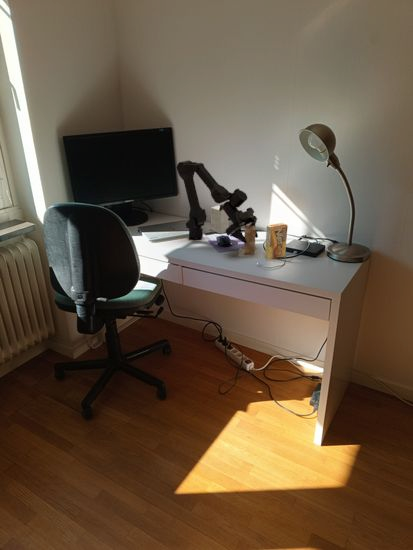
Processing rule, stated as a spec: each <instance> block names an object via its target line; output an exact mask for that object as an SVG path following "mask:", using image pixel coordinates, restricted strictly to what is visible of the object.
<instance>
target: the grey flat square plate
mask: <svg viewBox="0 0 413 550" xmlns="http://www.w3.org/2000/svg"><path fill="white" fill-rule="evenodd" d="M260 250H261V249H259V248H255V255H244V248H238V256H237V257H239V258H245V257H246V258H261V251H260Z"/></svg>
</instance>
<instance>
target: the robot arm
mask: <svg viewBox="0 0 413 550" xmlns="http://www.w3.org/2000/svg"><path fill="white" fill-rule="evenodd" d="M176 171H177V173H178V176H179V177H180V178H181V180H182V181H183V183H184V188H185V192H186V196H187V200H188V201H187V202H188V205H189V214H188V218H189V219H188V221H187V222H185V227H186V229H188V241H190V240H192V241H193V240H194V241H195V240H196V241H197V240H198V241H202V238H203V236H204V232H203V231H204V229H203V226H205V223H206V221H207V217H208V215H207V212H206V209H205V208H202V207H201V206H200V202H199V197H198V193H197V192H198V191H197V187H196V184H195V181H194V177H195V174H196V175H197V176H198V177H199V179H200V180H201V181H202V182H203V184H204V185H205V186H206V187H207V188H208V190H209V191H210V197H211V198H212V199H213V200H212V201H214V203H216V204H219V205H220V208H219V211H222V210H224V211H225V213H226V214H227V216H228V217H229V218H228V220H229V222H230V221H231V224H229V227H228V228H227V229H226V232H225V233H226V235H227V236H230V237H233V238H235V239H236V240H239V241H241V242H242V243H243V244H244V243H247V241H246V239H245V237H244V234H243V232H242V228H243V227H245V226H256V223H257V220H258V217H257V216H256V215H254V214H255V211H254V209H253V208H252V206H251V207H248V208H246V211H243V210H241V209H240V210H239V209H238V208H240V207H241V206H242V205H243V204H244V203H245V202H246V201H247V200H248V195H247V193H246V192H244V191H242V190H240V188H235V190H233V192H229V190H228V189H227V188H225V187H224V186H222V185H220V184H219V183H218V182H217V180H216V179H215V178H214V176H212V174H211V173H210V172H209V170H208V169H207V167H205V165H204V163H203V162H197V161H195V162H194V161H191V160H190V159H188V160H183V161H180V162H179V161H178V163H177V165H176ZM257 231H258V230H256V234H255V239H257V238H259V235H258V232H257Z"/></svg>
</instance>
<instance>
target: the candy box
mask: <svg viewBox="0 0 413 550" xmlns="http://www.w3.org/2000/svg"><path fill="white" fill-rule="evenodd" d="M288 228H289V226H288V224H285V223H284V222H280V223H275V224H268V225H266V233H265V234H266V235H265V251H264V257H266V258H267V259H268V260H270V259H271V260H272V259H276V258H281V257H285V256H286V249H287V236H288Z"/></svg>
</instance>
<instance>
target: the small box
mask: <svg viewBox="0 0 413 550" xmlns="http://www.w3.org/2000/svg"><path fill="white" fill-rule="evenodd" d="M220 205H221V204H219V205H215V206H211V207H210V211H211V212H210V230H211V232H215V233H218V234H225V233H226V229H227V228H228V227H229V226H230V221H229V220H228V218H229V217H228V216H227V214H226V213H225V211H224V210H222V211H219V208H220Z"/></svg>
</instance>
